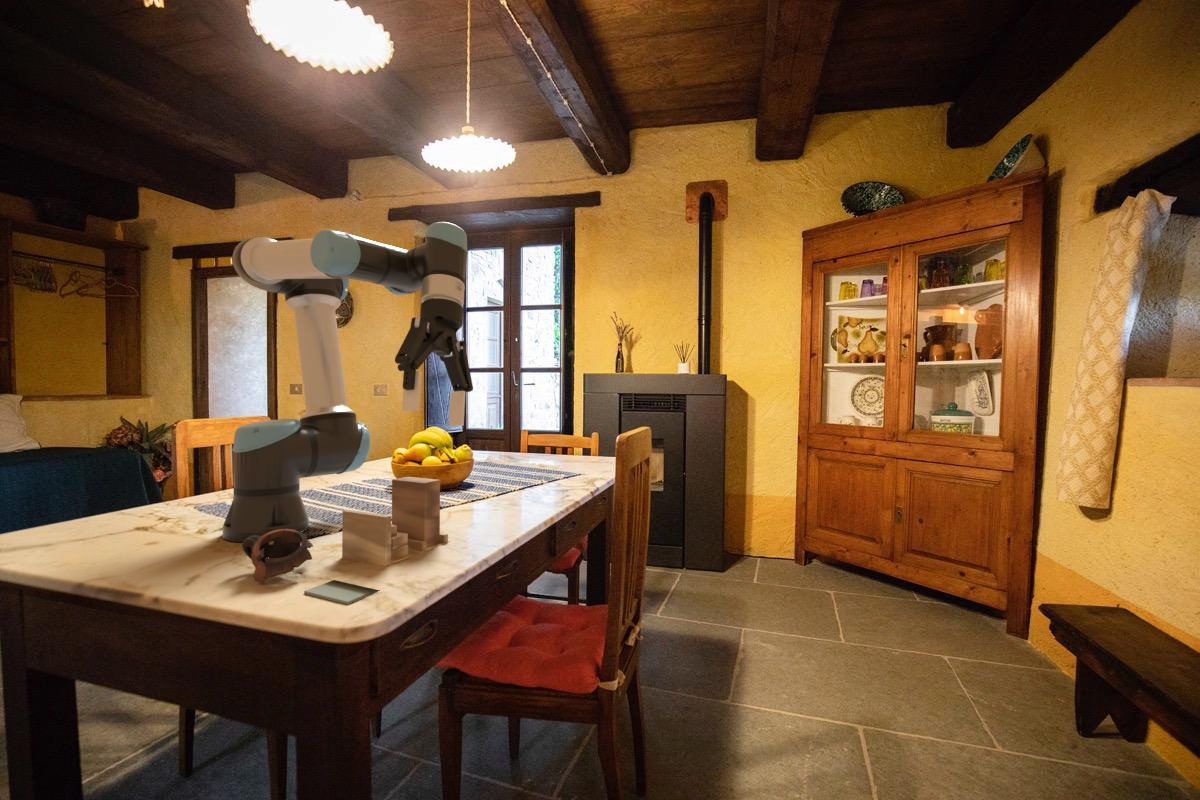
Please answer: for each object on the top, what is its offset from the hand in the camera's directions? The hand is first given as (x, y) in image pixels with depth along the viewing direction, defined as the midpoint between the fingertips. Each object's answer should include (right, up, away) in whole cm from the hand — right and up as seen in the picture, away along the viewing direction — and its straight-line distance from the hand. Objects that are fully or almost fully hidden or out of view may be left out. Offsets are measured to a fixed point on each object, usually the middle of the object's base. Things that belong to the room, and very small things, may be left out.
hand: (434, 418), depth 91 cm
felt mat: (-9, -25, -12) cm, 29 cm away
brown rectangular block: (-6, -24, +8) cm, 26 cm away
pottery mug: (-24, -25, -6) cm, 35 cm away
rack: (-8, -25, +4) cm, 27 cm away
